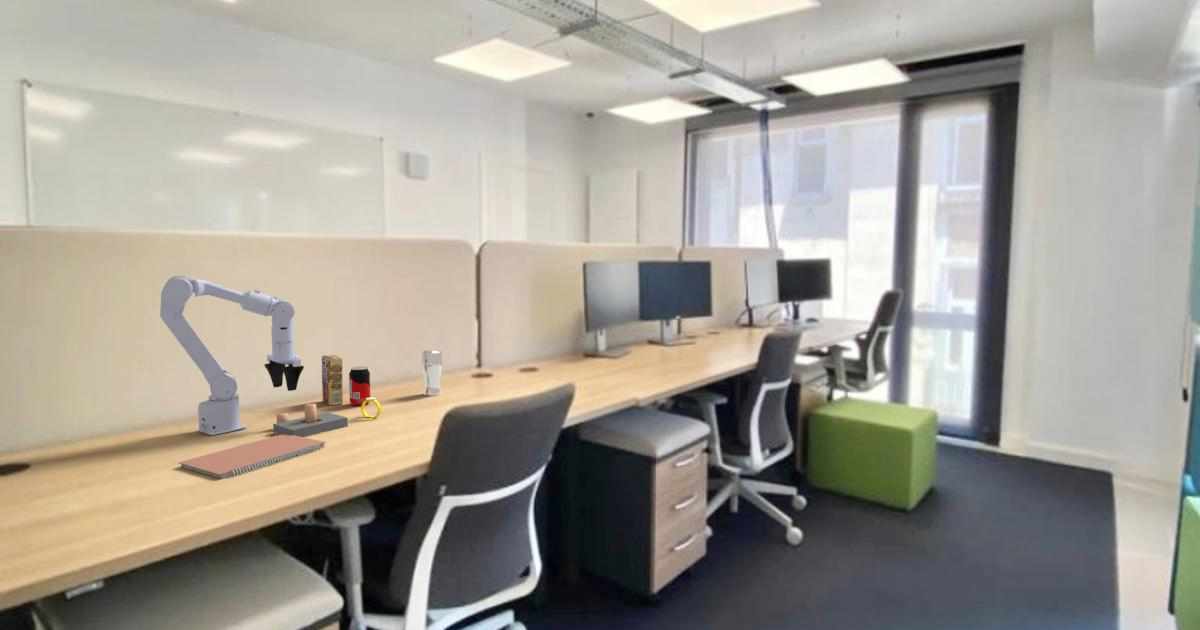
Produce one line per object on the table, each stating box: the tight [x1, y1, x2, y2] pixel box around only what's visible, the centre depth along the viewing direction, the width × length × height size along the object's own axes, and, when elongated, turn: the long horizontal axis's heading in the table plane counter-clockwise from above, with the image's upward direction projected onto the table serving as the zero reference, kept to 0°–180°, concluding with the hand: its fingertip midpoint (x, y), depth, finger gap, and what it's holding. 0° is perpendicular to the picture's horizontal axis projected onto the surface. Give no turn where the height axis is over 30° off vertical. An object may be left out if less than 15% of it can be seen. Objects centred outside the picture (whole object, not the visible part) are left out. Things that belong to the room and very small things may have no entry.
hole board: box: [272, 411, 349, 438], centre depth 178 cm, size 16×10×2 cm, turn 145°
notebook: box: [178, 433, 327, 479], centre depth 154 cm, size 27×17×2 cm, turn 152°
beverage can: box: [348, 366, 371, 406], centre depth 207 cm, size 6×6×12 cm
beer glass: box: [421, 349, 443, 397], centre depth 222 cm, size 7×7×15 cm
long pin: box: [304, 403, 318, 424], centre depth 177 cm, size 3×3×7 cm
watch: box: [360, 396, 382, 419], centre depth 191 cm, size 6×3×6 cm, turn 76°
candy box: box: [321, 354, 344, 406], centre depth 209 cm, size 9×4×15 cm, turn 39°
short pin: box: [276, 412, 290, 423], centre depth 178 cm, size 3×3×4 cm
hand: (284, 388), depth 184 cm, fingers open, 7 cm apart
